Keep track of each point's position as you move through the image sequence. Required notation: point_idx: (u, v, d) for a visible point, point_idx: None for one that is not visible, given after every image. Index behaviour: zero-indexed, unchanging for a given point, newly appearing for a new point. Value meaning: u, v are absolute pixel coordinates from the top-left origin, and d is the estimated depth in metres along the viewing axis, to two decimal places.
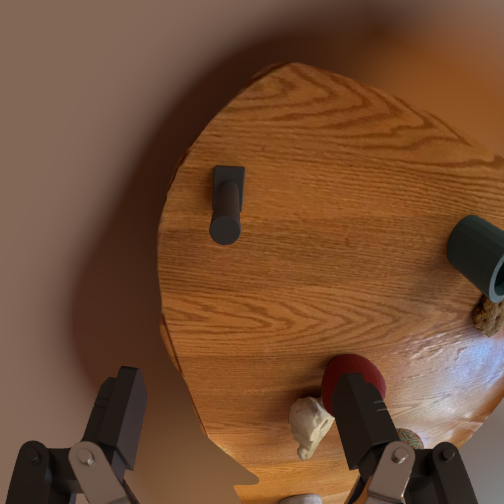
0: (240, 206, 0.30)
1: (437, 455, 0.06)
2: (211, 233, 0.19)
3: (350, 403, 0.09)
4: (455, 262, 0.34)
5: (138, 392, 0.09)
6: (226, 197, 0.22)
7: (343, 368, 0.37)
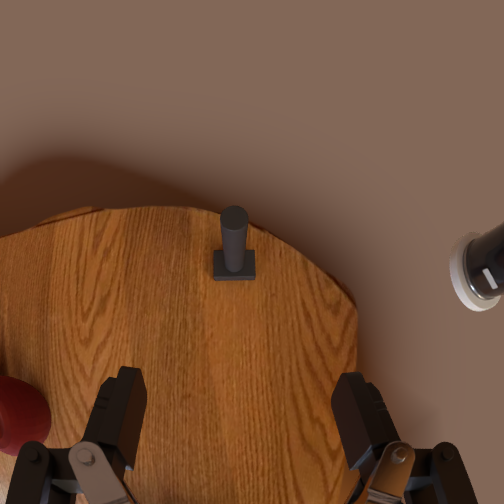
0: (218, 275, 0.31)
1: (437, 455, 0.06)
2: (230, 207, 0.21)
3: (350, 403, 0.09)
4: None
5: (138, 392, 0.09)
6: None
7: (37, 402, 0.22)
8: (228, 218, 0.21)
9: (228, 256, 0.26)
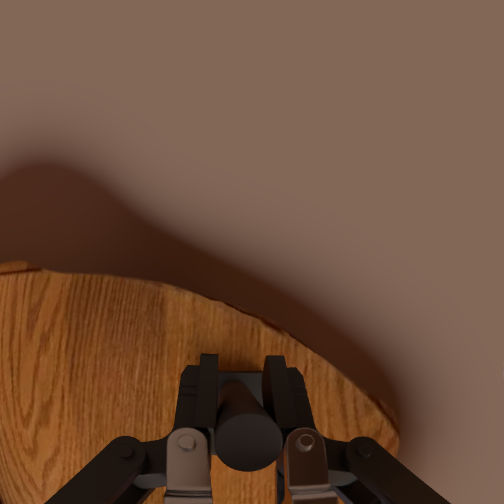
0: None
1: (352, 449, 0.07)
2: (241, 417, 0.07)
3: (268, 385, 0.10)
4: None
5: None
6: None
7: None
8: (234, 445, 0.07)
9: None
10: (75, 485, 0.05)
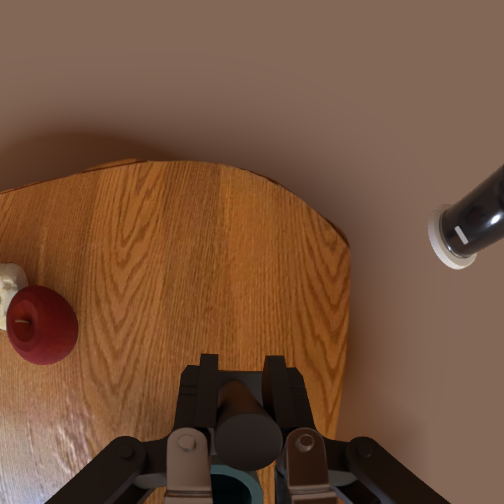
0: None
1: (352, 449, 0.07)
2: (241, 417, 0.07)
3: (268, 385, 0.10)
4: None
5: None
6: None
7: (71, 311, 0.30)
8: (234, 444, 0.07)
9: None
10: (75, 485, 0.05)
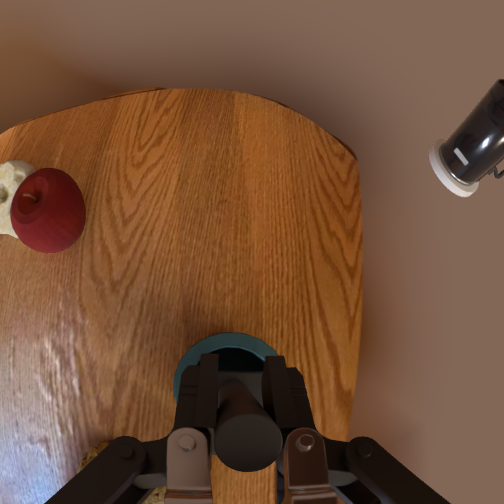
0: None
1: (352, 449, 0.07)
2: (241, 417, 0.07)
3: (268, 385, 0.10)
4: None
5: None
6: None
7: None
8: (234, 445, 0.07)
9: None
10: (75, 485, 0.05)
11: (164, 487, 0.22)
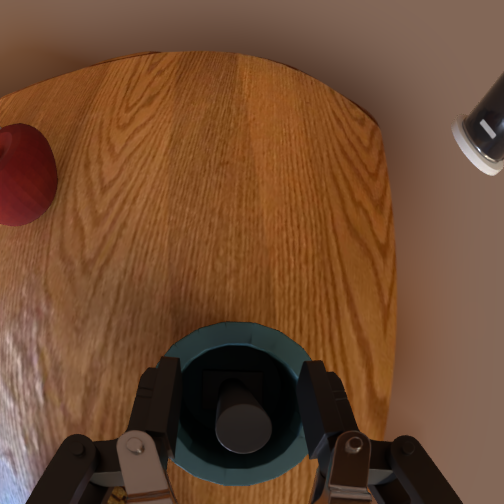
0: (209, 407, 0.19)
1: (396, 448, 0.07)
2: (237, 407, 0.09)
3: (309, 390, 0.10)
4: None
5: (178, 381, 0.10)
6: None
7: (53, 156, 0.22)
8: (232, 430, 0.09)
9: None
10: (41, 490, 0.04)
11: None
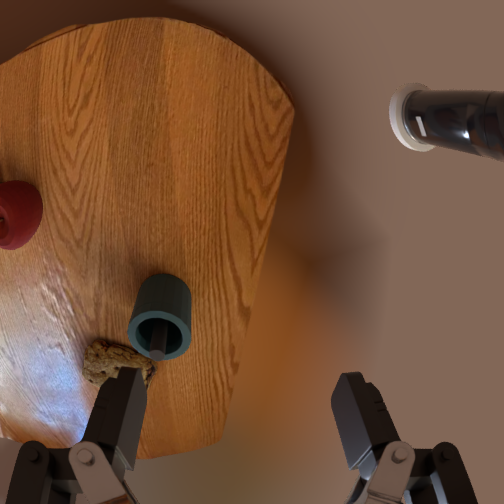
0: None
1: (437, 455, 0.06)
2: (154, 350, 0.33)
3: (350, 403, 0.09)
4: (146, 284, 0.42)
5: (138, 392, 0.09)
6: (166, 333, 0.37)
7: (33, 193, 0.31)
8: (153, 355, 0.33)
9: None
10: (11, 503, 0.03)
11: (134, 364, 0.47)
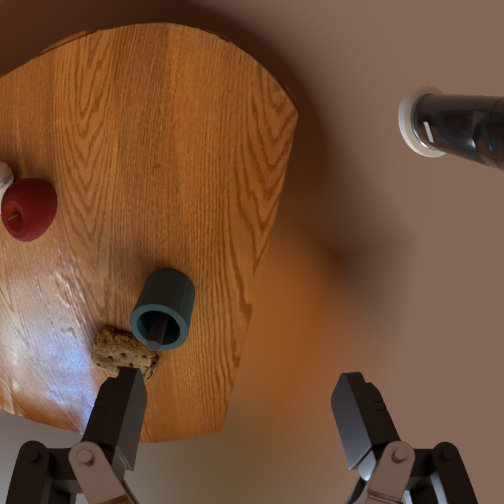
0: None
1: (437, 455, 0.06)
2: (150, 341, 0.36)
3: (350, 403, 0.09)
4: (151, 278, 0.44)
5: (138, 392, 0.09)
6: (166, 325, 0.40)
7: (47, 190, 0.35)
8: (150, 345, 0.36)
9: None
10: (11, 503, 0.03)
11: (139, 352, 0.51)
